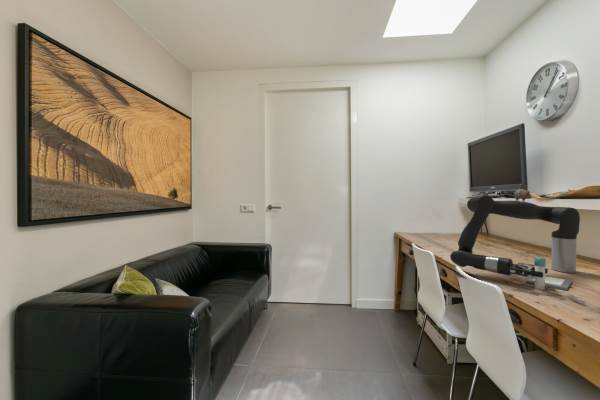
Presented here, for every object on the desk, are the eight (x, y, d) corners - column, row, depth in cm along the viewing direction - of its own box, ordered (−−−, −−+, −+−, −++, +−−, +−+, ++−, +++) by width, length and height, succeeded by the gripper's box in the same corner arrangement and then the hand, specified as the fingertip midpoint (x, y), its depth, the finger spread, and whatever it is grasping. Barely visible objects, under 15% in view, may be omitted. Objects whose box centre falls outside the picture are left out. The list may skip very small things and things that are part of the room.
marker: (535, 286, 114) (535, 256, 113) (546, 288, 111) (546, 258, 111) (533, 288, 112) (533, 258, 111) (544, 290, 109) (544, 259, 109)
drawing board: (534, 275, 129) (534, 273, 129) (572, 282, 118) (572, 279, 118) (526, 282, 119) (526, 279, 119) (566, 290, 108) (566, 287, 108)
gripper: (493, 259, 118) (541, 267, 105) (503, 254, 127) (548, 261, 114) (493, 276, 118) (541, 285, 105) (503, 270, 127) (548, 278, 114)
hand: (545, 273), depth 110 cm, fingers open, 8 cm apart
